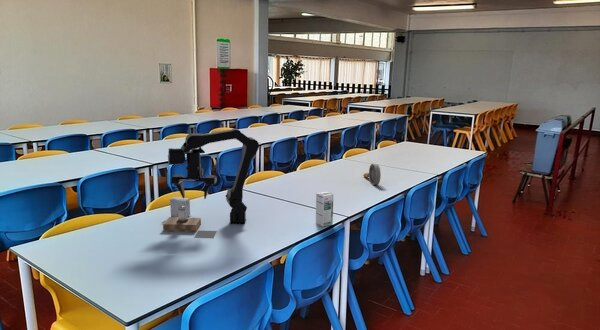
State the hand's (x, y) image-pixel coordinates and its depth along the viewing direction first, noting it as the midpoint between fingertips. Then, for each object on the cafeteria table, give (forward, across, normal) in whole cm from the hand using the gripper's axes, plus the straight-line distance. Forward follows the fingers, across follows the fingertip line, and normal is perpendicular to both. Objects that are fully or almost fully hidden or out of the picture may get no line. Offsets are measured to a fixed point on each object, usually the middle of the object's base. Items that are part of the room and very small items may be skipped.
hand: (194, 198), depth 190 cm
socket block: (+13, +5, +2) cm, 14 cm away
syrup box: (+13, -57, -8) cm, 59 cm away
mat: (+13, -6, +9) cm, 17 cm away
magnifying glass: (+13, -90, -85) cm, 125 cm away
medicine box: (+13, +10, -13) cm, 21 cm away
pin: (+13, +5, +3) cm, 14 cm away
